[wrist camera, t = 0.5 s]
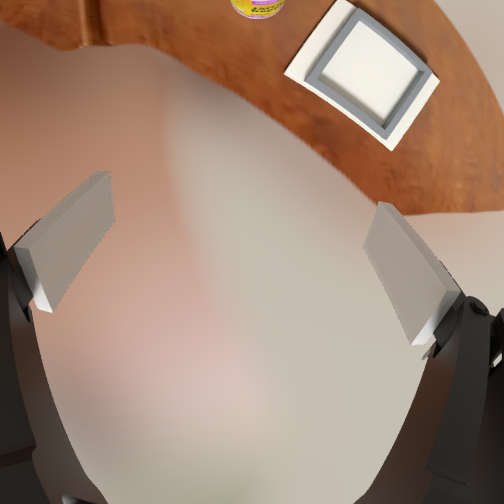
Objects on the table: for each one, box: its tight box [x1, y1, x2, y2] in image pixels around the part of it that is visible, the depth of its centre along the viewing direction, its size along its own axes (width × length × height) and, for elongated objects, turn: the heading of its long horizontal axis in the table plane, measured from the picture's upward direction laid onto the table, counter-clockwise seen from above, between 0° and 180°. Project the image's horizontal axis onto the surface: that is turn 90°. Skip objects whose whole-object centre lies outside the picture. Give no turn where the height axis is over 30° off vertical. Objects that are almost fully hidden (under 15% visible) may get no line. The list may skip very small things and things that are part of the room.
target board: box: [284, 0, 440, 151], centre depth 28 cm, size 18×14×2 cm
